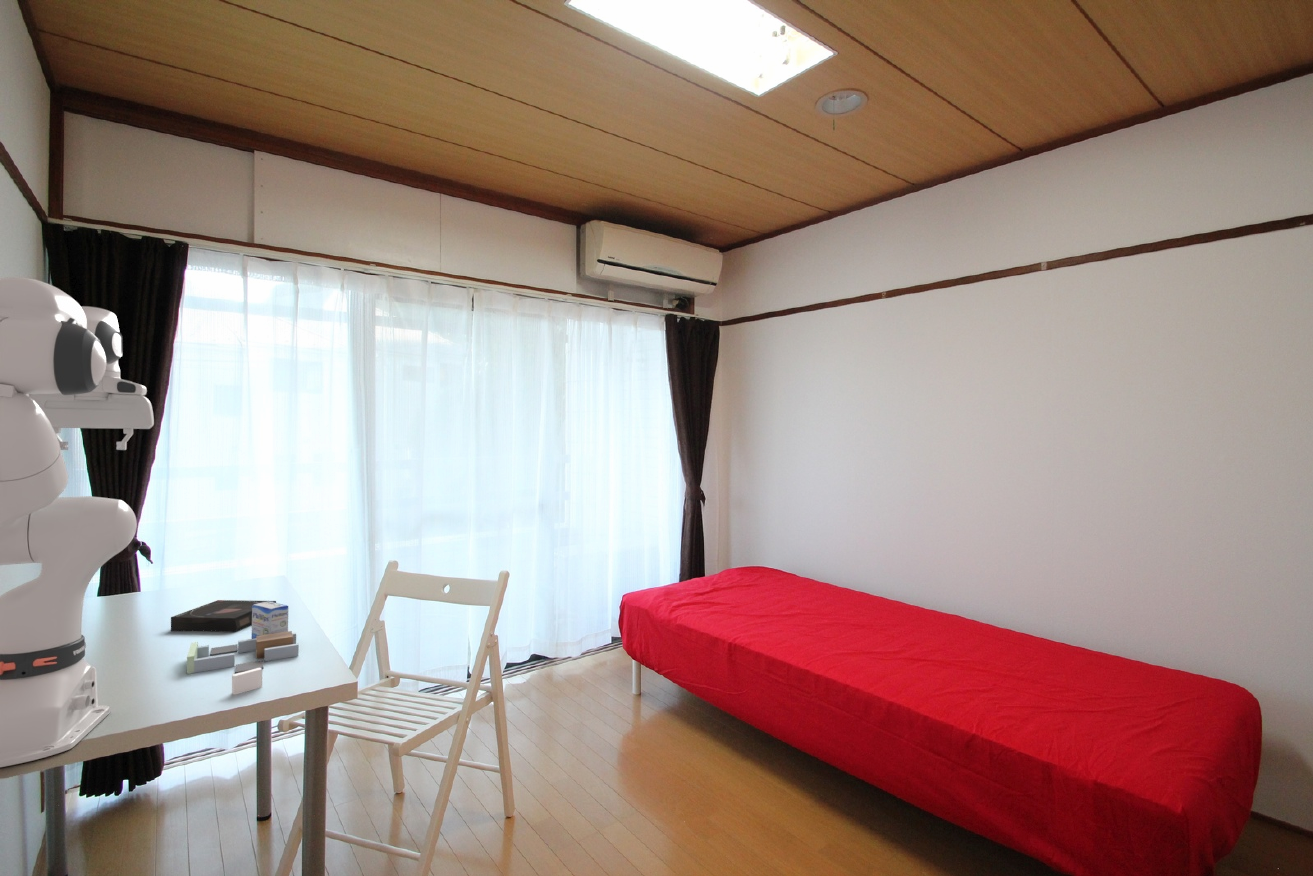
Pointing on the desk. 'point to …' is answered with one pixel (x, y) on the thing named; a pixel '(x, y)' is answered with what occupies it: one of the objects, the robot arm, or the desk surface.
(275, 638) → the walnut block
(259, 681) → the eraser
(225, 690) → the desk surface
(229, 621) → the portable cd player
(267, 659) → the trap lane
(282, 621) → the medicine box
